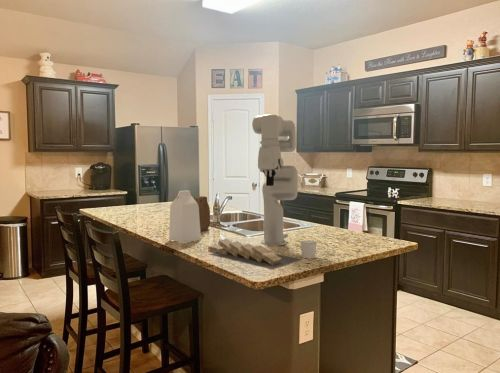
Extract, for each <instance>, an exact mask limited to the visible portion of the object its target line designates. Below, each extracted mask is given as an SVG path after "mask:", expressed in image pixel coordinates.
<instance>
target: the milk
mask: <svg viewBox="0 0 500 373" xmlns="http://www.w3.org/2000/svg"><path fill="white" fill-rule="evenodd" d="M169 208H170V209H169V228H168V232H169V233H168V234H169V236H168V240H169V239H170V240H174V241H178V242H181V243H180V244H182V243H184V244H186V243H185V242H189V243H192V242H191V241H194V242H198V241H197V240H199V241H202V236H201V235H202V234H201V232H202V231H200V218H199V206H198V204H197V202H196V201H195V200H194V197H193V196H192V195H191V190H179V191H178V194H177V196H176V197H175V199H174V200H173V201H172V202H171V204H170V206H169Z"/></svg>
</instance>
